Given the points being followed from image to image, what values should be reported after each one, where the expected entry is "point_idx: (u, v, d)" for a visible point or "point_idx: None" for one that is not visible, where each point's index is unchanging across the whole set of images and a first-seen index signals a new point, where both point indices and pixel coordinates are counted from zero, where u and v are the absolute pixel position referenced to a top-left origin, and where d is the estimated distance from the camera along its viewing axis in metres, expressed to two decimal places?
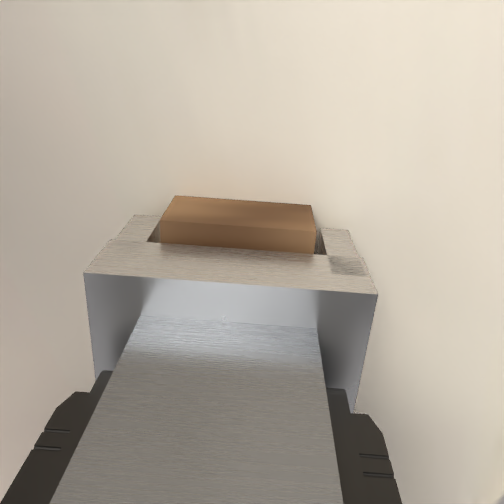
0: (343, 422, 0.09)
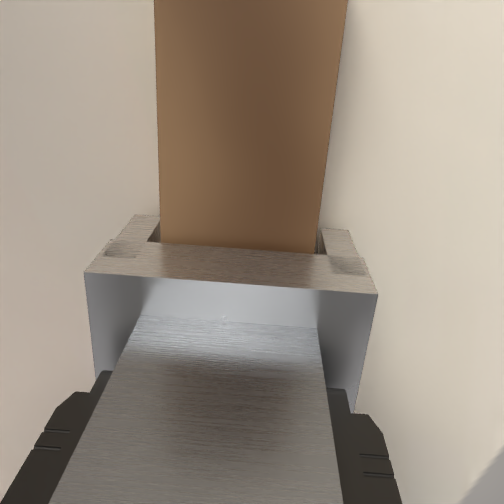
0: (343, 422, 0.09)
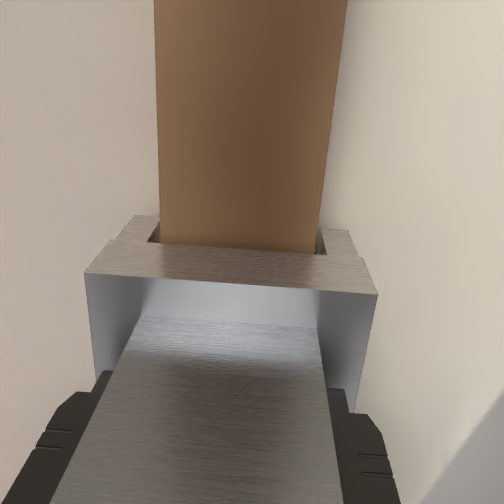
0: (342, 422, 0.09)
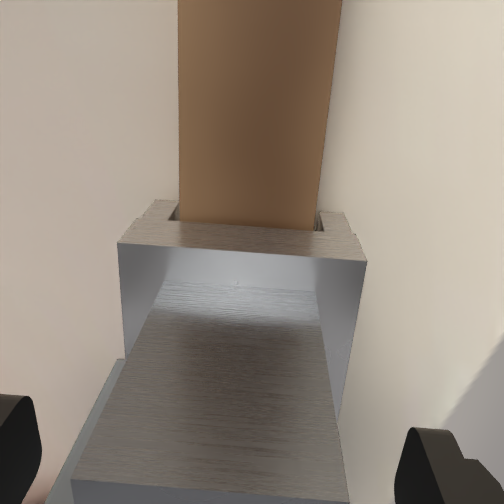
0: (460, 472, 0.08)
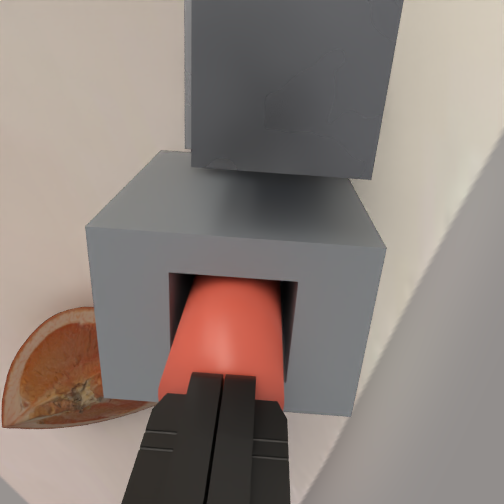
0: (245, 407, 0.09)
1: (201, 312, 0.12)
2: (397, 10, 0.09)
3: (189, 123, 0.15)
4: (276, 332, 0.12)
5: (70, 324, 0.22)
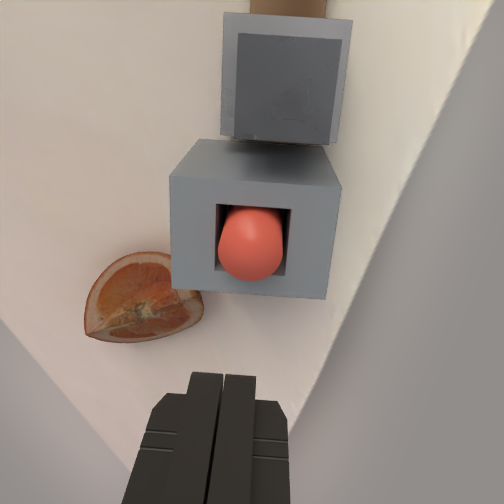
0: (245, 407, 0.09)
1: (238, 212, 0.22)
2: (337, 59, 0.17)
3: (223, 118, 0.24)
4: (278, 224, 0.22)
5: (131, 264, 0.31)
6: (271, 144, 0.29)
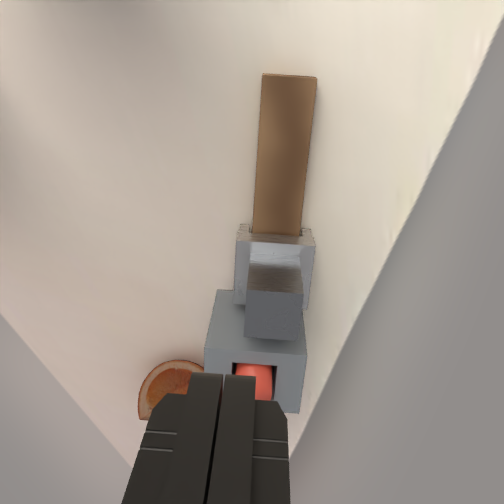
0: (245, 407, 0.09)
1: (245, 365, 0.36)
2: (301, 302, 0.31)
3: (235, 295, 0.38)
4: (269, 371, 0.36)
5: (170, 368, 0.45)
6: None
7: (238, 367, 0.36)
